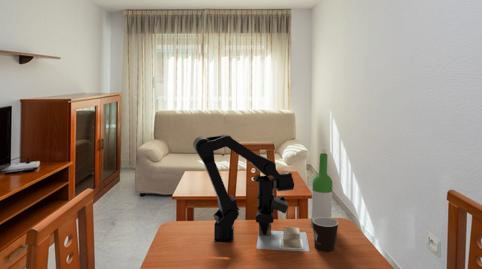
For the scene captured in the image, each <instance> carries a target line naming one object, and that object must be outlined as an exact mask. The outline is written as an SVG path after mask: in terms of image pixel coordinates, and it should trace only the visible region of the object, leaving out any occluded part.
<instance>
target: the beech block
mask: <svg viewBox="0 0 482 269" xmlns="http://www.w3.org/2000/svg"><path fill="white" fill-rule="evenodd" d="M282 231H283V247H292V248H299V247H300V232H301V231H300V228H299V227H290V226H289V227H287V226H285V227H284V226H283V230H282Z"/></svg>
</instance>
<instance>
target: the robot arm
mask: <svg viewBox="0 0 482 269" xmlns="http://www.w3.org/2000/svg"><path fill="white" fill-rule="evenodd" d="M192 145H193V149H194V151H195V152H196V154H197V156H198V157H199V158H200V160H201V162H202V163H203V165H204V167H205V170H206V172H207V175H208V177H209V180H210V182H211V185H212V187H213V189H214V192H215V195H216V197H217V206H218V208H219V209H217V210H216V211H215V213H214V214H213V218H214V220H215V223H214V234H213V235H214V238H213V242H214V243H232V241H233V240H234V238H235V226H234V224H235V221H236V220H237V219H238V218H239V214H240V212H239V211H240V210H241V209H240V208H239V206H238V204H237V200H236V198H234V196H233V195H232V194H231V195H229V194H228V191H227V189H226V186H225V184H224V182H223V179H222V176H221V174H220V171H219V168H218V166H217V164H216V161H215V160H216V159H215V151H218V150H220V149H223V148H228V149H229V150H231V151H233V153H235V154H237V155H238V156H240V157H242V158H243V159H245V160H246V161H248V162H250V164H251V165H252V166H253V167H254V168H255V169H256V170H257V171H258V172H260V173H261V174H263V175H260V174H259V173H256V175H254V177H252V180H253V181H254V182H256V183H258V184H257V189H258V190H257V212H256V214H255V223H257V224H258V226H259V225H260V228H261V230H262V232H263V235H266V234H267V229H268V225H269V223H271V224H273V223H274V211H275V210H276V211H279V212H281V213H282V214H286V213H287V210H288V208H289V202H288V200H287V201H286V197H285V196H284V195H281V196H279V197H275V193H274V189H275V190H276V192H285V191H286V192H287V191H293V190H294V188H295V182H294V178H293V173H291V172H289V171H287V172H279V171H278V170H277V165H276V162H274V161H272V160H271V159H270V158H268V157H265V156H262V155H260V154H257V153H255V152H254V151H252V150H250V149H249V148H248V147H246V146H244V145H243V144H241V143H240V142H239V141H236V140H235V139H233V137H232V136H231V135H228V134H225V133H224V134H221V135H213V136H208V137H204V136H198V137H196V138H195V139H194V141H193V143H192ZM269 176H271V177H269Z"/></svg>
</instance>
